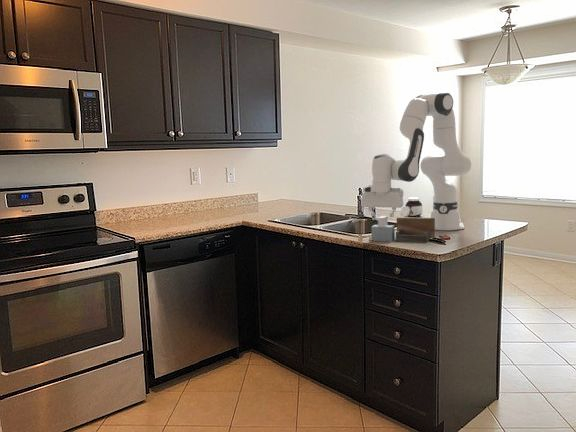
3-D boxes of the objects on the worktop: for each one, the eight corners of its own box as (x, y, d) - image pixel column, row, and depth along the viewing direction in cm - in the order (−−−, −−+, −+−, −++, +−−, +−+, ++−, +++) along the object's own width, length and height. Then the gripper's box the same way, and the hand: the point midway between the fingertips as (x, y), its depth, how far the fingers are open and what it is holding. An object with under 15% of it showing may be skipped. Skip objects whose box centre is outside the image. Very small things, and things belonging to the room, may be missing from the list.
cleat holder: (398, 236, 233) (397, 217, 232) (435, 238, 225) (434, 218, 223) (392, 241, 225) (391, 220, 223) (430, 242, 216) (430, 221, 214)
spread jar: (424, 216, 293) (423, 197, 292) (416, 218, 285) (416, 199, 283) (406, 215, 301) (405, 197, 299) (398, 217, 292) (398, 199, 290)
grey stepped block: (375, 238, 233) (374, 215, 232) (395, 239, 229) (394, 216, 227) (371, 240, 228) (370, 217, 227) (391, 241, 223) (391, 218, 222)
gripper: (405, 187, 222) (405, 216, 224) (363, 187, 232) (364, 215, 234) (401, 188, 217) (401, 217, 219) (359, 188, 227) (360, 216, 228)
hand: (382, 216), depth 226 cm, fingers open, 8 cm apart
